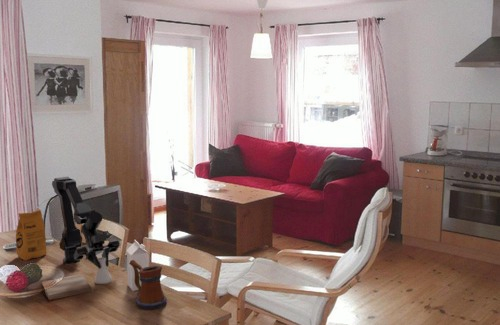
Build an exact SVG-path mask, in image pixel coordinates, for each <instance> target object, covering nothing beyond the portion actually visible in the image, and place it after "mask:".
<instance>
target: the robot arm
mask: <svg viewBox="0 0 500 325" xmlns="http://www.w3.org/2000/svg"><path fill="white" fill-rule="evenodd" d="M51 185H52V188H53V190H54V193H55V194H56V195H57V196H58V199H59V203H60V204H59V205H60V209H61V214H62V215H61V216H62V222H63V226H64V228H63V230H62V233H61V238H60V241H59V244H58V245H59V249H61V250H62V251H63V252H64V257H63V258H62V261H63V262H64V263H65V264H70V263H76V262H80V261H81V260H83V258H84V257H85V258H84V259H85V260H87V261H89V262H91V263H92V264H94V266H96V267H97V268H98V269H100V268H101V266H100V263H99V261H98V259H99V258H98V257H97V253H98V252H101V258H102V257H104V258H106V260H105V261H106V266H107V268H108V267H109V255H110V253H114V252H116V251H118V250H119V248H120V246H121V243H120V240H118V239H115V240H114V239H113V240H109V242H108V243H107V244H105V241H106V242H107V241H108V239H110V238H111V235H110V233H109V230H105V231H102V232H101V233H100V232H98V229H99V227H100V225H101V223H102V221H103V215H102V214H101V213H100V212H97V211H96V209H91V208H90V206H89V205H86V204H85V202H84V200H83V198H82V196H81V194H80V190H79V189H78V187H77V180H75V179H74V178H71V177H69V176H63V177H56V178H54V179H53V180H52V182H51ZM73 210H74V211H73ZM76 224H77V225H82V226H81V228H78V227H77V226H76ZM82 234H83V236H82ZM83 237H84V239H85V245H87V247H88V248H87V247H86V246H82V244H83Z"/></svg>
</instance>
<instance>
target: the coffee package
mask: <svg viewBox="0 0 500 325" xmlns="http://www.w3.org/2000/svg"><path fill="white" fill-rule="evenodd" d="M43 218H44V217H43V214H42V210H41V209H36V210H35V211H34V210H33V211H31V212H18V223H17V226H16V230H15V246H16V247H15V248H16V255H17V257H18V258H19V259H21V260H22V259H23V260H22V261H28V260H30V259H31V260H32V259H38V258H41V257H43V256H46V255H47V238H46V227H45V222H44V219H43Z"/></svg>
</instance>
